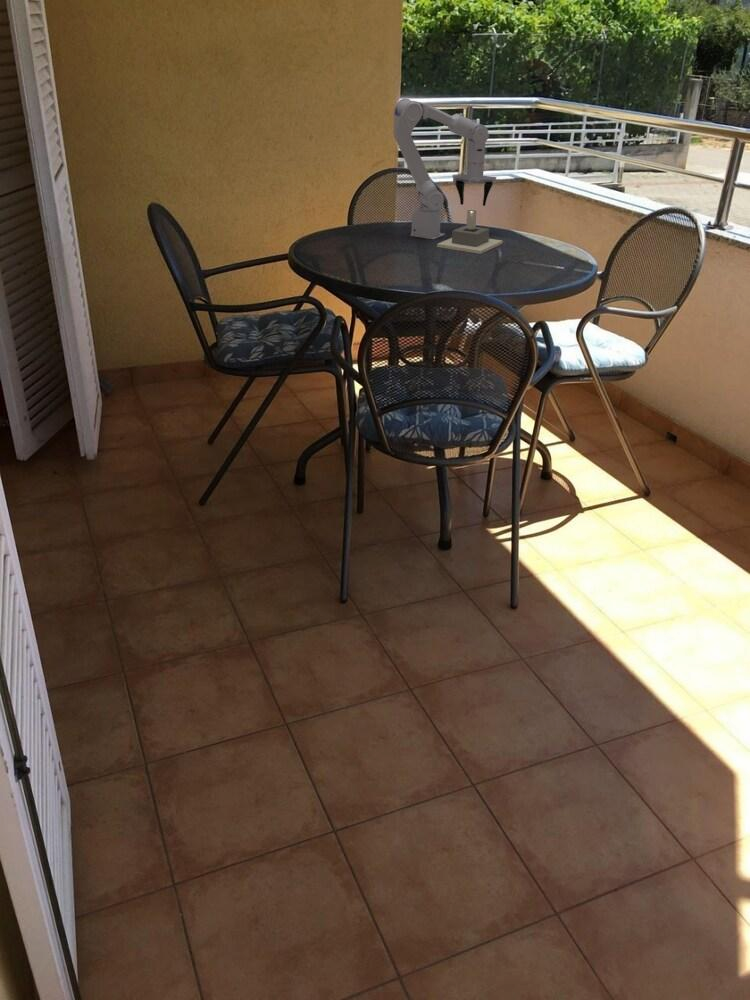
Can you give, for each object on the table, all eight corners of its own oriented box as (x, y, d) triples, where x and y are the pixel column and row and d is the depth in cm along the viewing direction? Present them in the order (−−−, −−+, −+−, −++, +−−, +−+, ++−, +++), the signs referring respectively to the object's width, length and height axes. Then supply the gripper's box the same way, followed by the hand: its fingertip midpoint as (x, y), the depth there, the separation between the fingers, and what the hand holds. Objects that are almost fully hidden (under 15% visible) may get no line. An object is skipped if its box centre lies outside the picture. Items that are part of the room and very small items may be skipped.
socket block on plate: (437, 246, 273) (437, 231, 271) (460, 237, 285) (461, 222, 282) (480, 254, 266) (481, 238, 263) (502, 243, 277) (503, 228, 275)
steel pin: (463, 242, 274) (465, 211, 269) (468, 240, 276) (470, 209, 271) (471, 243, 273) (473, 212, 268) (476, 242, 275) (478, 210, 270)
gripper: (452, 163, 277) (450, 205, 284) (495, 165, 274) (492, 208, 281) (455, 160, 283) (453, 201, 290) (498, 162, 280) (495, 203, 287)
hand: (473, 204), depth 286 cm, fingers open, 7 cm apart
